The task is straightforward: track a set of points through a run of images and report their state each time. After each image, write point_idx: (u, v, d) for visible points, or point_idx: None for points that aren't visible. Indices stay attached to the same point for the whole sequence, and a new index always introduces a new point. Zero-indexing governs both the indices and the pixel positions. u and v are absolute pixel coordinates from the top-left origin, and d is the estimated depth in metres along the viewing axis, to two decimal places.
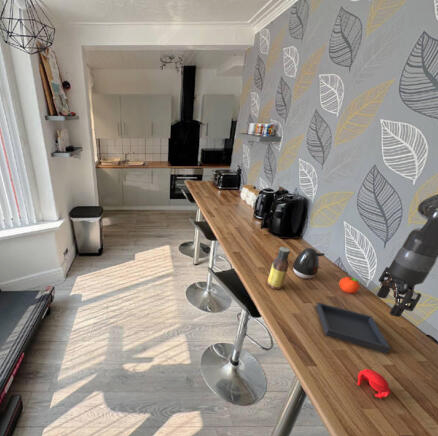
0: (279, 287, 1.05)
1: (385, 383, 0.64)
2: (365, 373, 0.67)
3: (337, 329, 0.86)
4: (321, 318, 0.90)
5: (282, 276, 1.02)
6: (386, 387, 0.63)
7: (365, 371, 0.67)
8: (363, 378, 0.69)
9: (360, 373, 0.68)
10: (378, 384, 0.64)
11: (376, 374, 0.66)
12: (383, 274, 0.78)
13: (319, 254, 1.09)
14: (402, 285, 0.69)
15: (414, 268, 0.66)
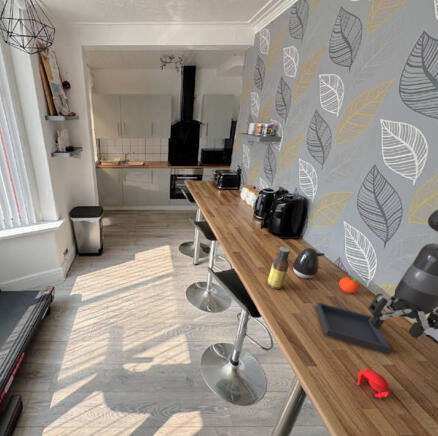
0: (279, 287, 1.05)
1: (385, 383, 0.64)
2: (365, 373, 0.67)
3: (337, 329, 0.86)
4: (321, 318, 0.90)
5: (282, 276, 1.02)
6: (386, 387, 0.63)
7: (365, 371, 0.67)
8: (363, 378, 0.69)
9: (360, 373, 0.68)
10: (378, 384, 0.64)
11: (376, 374, 0.66)
12: None
13: (319, 254, 1.09)
14: None
15: (403, 277, 0.60)
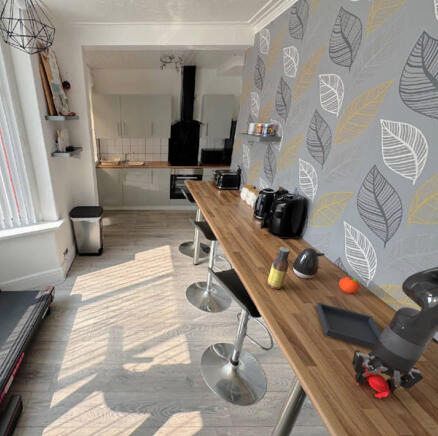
0: (279, 287, 1.05)
1: (385, 383, 0.64)
2: None
3: (337, 329, 0.86)
4: (321, 318, 0.90)
5: (282, 276, 1.02)
6: (386, 387, 0.63)
7: None
8: None
9: None
10: (378, 384, 0.64)
11: (376, 374, 0.66)
12: None
13: (319, 254, 1.09)
14: None
15: (380, 336, 0.62)
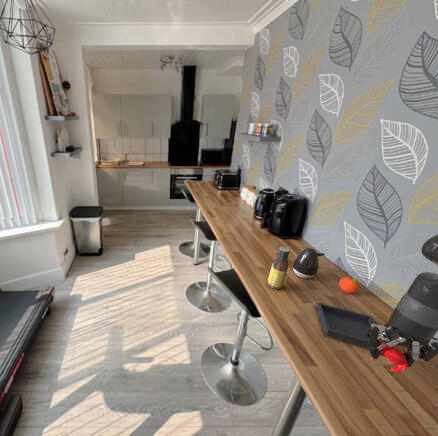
0: (279, 287, 1.05)
1: (402, 356, 0.60)
2: None
3: (337, 329, 0.86)
4: (321, 318, 0.90)
5: (282, 276, 1.02)
6: (403, 360, 0.59)
7: None
8: None
9: None
10: (395, 357, 0.60)
11: (392, 347, 0.62)
12: None
13: (319, 254, 1.09)
14: None
15: (397, 305, 0.58)
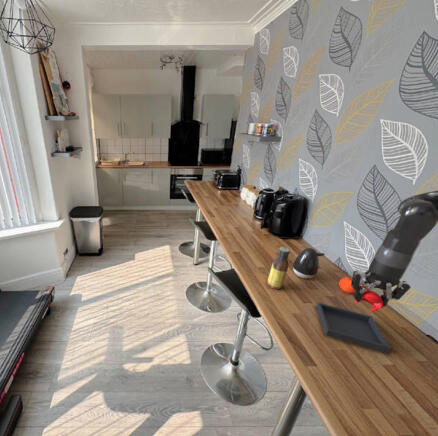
0: (279, 287, 1.05)
1: (379, 296, 0.75)
2: None
3: (337, 329, 0.86)
4: (321, 318, 0.90)
5: (282, 276, 1.02)
6: (380, 299, 0.75)
7: None
8: None
9: None
10: (373, 298, 0.75)
11: (371, 291, 0.77)
12: None
13: (319, 254, 1.09)
14: None
15: None
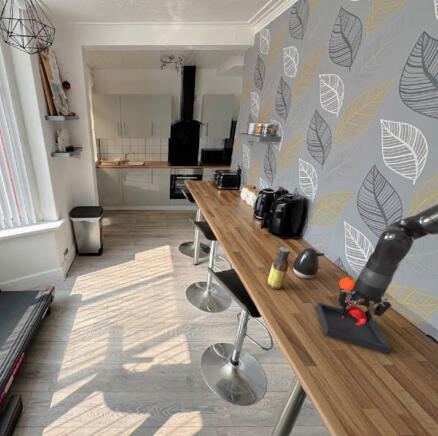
0: (279, 287, 1.05)
1: (363, 312, 0.82)
2: None
3: (337, 329, 0.86)
4: (321, 318, 0.90)
5: (282, 276, 1.02)
6: (363, 315, 0.82)
7: None
8: None
9: None
10: (358, 314, 0.82)
11: (356, 307, 0.84)
12: None
13: (319, 254, 1.09)
14: None
15: (359, 275, 0.81)
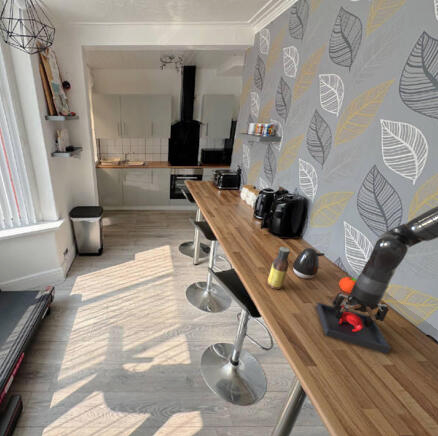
0: (279, 287, 1.05)
1: (359, 319, 0.83)
2: (345, 314, 0.87)
3: (337, 329, 0.86)
4: (321, 318, 0.90)
5: (282, 276, 1.02)
6: (360, 322, 0.83)
7: (345, 312, 0.87)
8: (344, 319, 0.89)
9: None
10: (354, 320, 0.84)
11: (353, 314, 0.85)
12: None
13: (319, 254, 1.09)
14: None
15: (356, 281, 0.82)
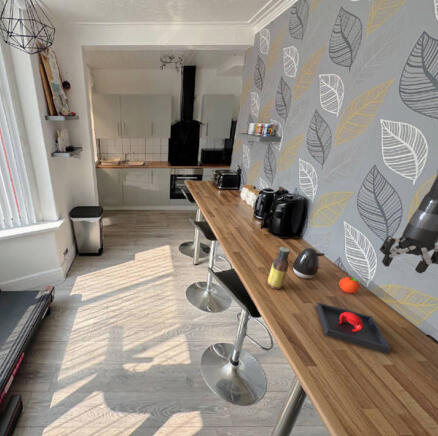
0: (279, 287, 1.05)
1: (359, 319, 0.83)
2: (345, 314, 0.87)
3: (337, 329, 0.86)
4: (321, 318, 0.90)
5: (282, 276, 1.02)
6: (360, 322, 0.83)
7: (345, 312, 0.87)
8: (344, 319, 0.89)
9: (341, 315, 0.88)
10: (354, 320, 0.84)
11: (353, 314, 0.85)
12: None
13: (319, 254, 1.09)
14: None
15: (409, 220, 0.74)
